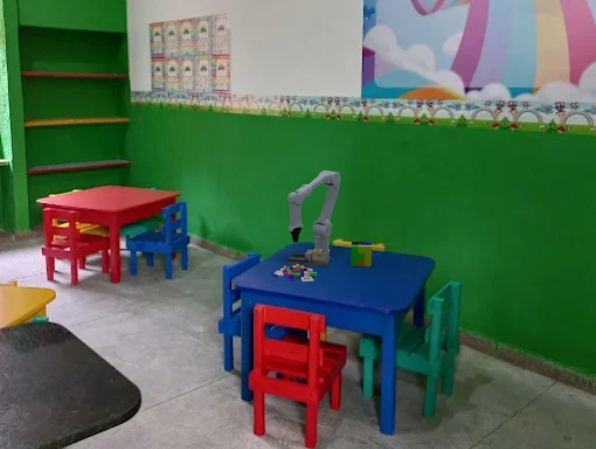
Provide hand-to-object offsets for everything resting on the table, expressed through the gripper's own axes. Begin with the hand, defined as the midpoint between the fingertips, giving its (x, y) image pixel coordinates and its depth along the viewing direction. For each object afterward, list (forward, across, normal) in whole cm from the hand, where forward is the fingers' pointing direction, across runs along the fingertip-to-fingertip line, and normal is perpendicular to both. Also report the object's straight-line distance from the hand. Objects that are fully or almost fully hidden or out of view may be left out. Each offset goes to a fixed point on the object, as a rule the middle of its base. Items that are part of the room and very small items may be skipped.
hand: (295, 241), depth 318 cm
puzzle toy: (+10, +5, -34) cm, 35 cm away
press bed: (+9, -3, -8) cm, 13 cm away
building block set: (+10, -24, -8) cm, 27 cm away
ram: (+8, -3, -9) cm, 12 cm away
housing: (+8, -2, -13) cm, 15 cm away
